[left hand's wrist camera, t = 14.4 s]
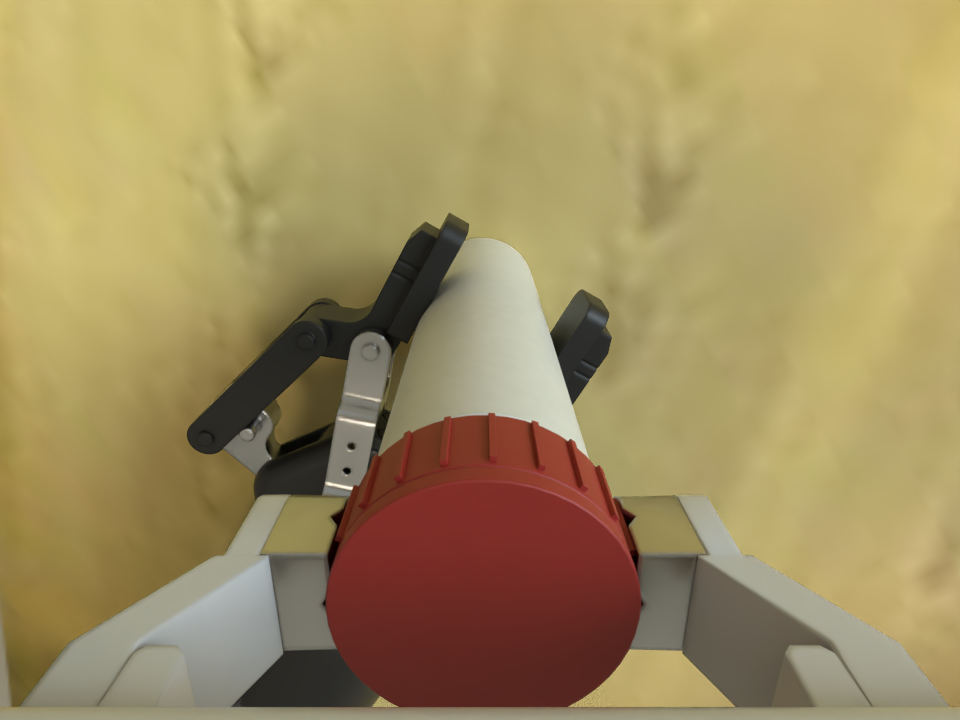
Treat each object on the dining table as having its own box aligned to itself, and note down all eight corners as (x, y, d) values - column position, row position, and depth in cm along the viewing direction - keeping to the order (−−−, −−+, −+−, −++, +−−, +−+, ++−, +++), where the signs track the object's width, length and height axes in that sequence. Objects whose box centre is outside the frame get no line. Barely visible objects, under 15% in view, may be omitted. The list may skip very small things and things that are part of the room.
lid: (308, 584, 11) (276, 674, 9) (407, 363, 9) (391, 421, 8) (541, 666, 12) (552, 764, 10) (670, 474, 10) (710, 550, 8)
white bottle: (412, 265, 25) (291, 534, 9) (506, 219, 24) (554, 422, 8) (459, 352, 26) (425, 717, 10) (549, 311, 25) (661, 634, 10)
